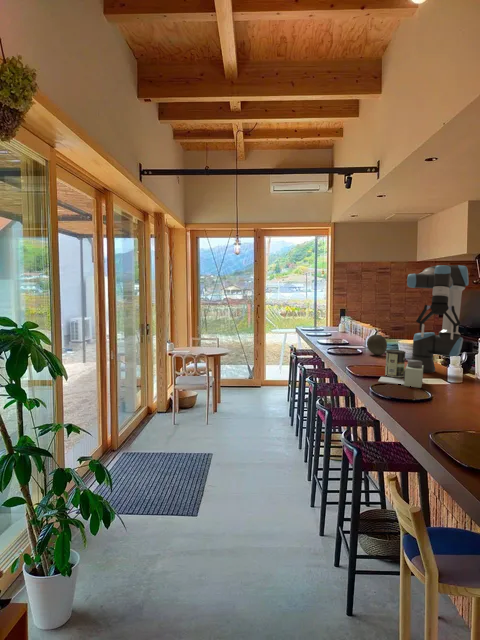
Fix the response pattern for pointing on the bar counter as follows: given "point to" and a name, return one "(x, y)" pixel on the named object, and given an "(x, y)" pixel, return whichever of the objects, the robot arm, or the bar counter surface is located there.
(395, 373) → the coffee can
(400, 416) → the bar counter surface
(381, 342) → the cantaloupe
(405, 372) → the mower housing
